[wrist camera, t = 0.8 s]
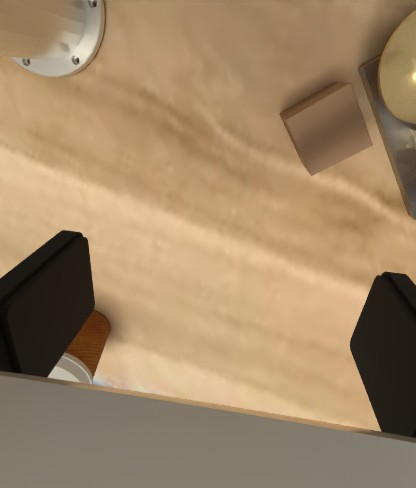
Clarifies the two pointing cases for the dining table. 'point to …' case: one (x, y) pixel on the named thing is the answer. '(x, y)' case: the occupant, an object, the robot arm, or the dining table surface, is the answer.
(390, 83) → the balance
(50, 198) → the dining table surface
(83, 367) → the disposable coffee cup
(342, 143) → the walnut block
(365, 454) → the robot arm
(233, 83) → the dining table surface
